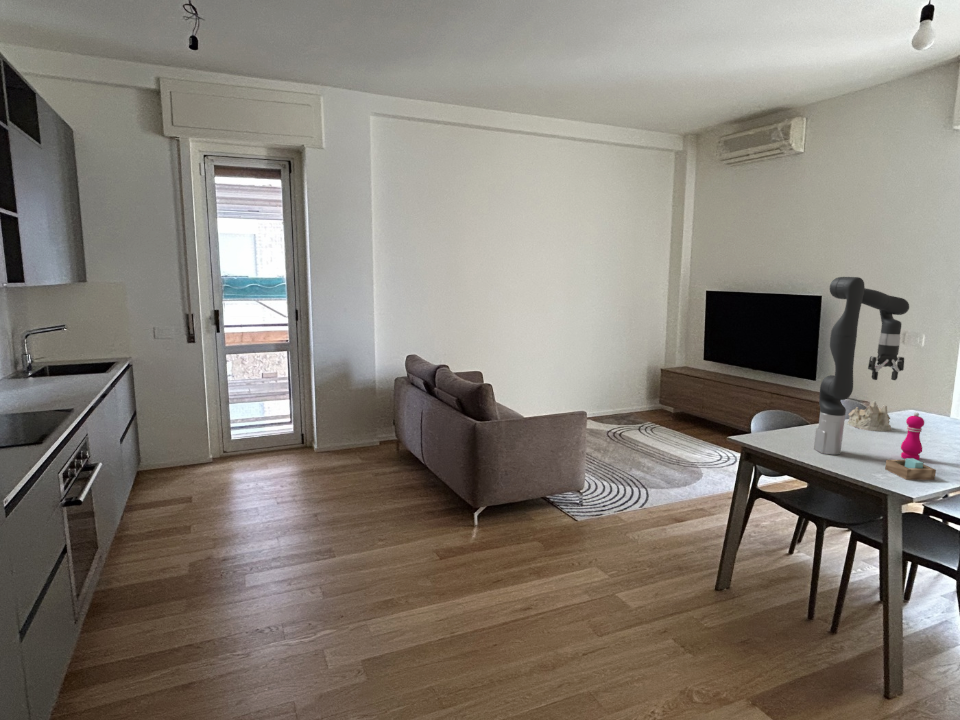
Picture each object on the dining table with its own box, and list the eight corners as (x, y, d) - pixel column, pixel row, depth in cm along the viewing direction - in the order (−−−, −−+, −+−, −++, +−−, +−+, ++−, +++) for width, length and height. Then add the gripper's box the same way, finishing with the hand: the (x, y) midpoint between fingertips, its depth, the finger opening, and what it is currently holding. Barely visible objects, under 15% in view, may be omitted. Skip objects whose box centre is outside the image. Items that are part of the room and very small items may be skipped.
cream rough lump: (896, 431, 279) (898, 401, 278) (864, 432, 279) (865, 402, 277) (874, 424, 295) (875, 395, 293) (843, 425, 294) (844, 396, 293)
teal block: (921, 475, 217) (923, 462, 216) (913, 475, 217) (915, 462, 216) (911, 470, 222) (913, 458, 221) (904, 470, 222) (905, 458, 221)
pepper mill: (895, 455, 243) (901, 410, 240) (911, 455, 243) (917, 410, 240) (908, 461, 236) (915, 414, 232) (925, 461, 236) (932, 414, 233)
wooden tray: (906, 479, 215) (907, 469, 214) (885, 469, 226) (886, 459, 225) (934, 479, 215) (936, 469, 215) (912, 469, 226) (913, 459, 225)
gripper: (879, 344, 246) (874, 381, 248) (911, 345, 246) (906, 381, 249) (867, 342, 253) (862, 378, 256) (898, 342, 253) (893, 378, 256)
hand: (884, 379), depth 252 cm, fingers open, 8 cm apart
